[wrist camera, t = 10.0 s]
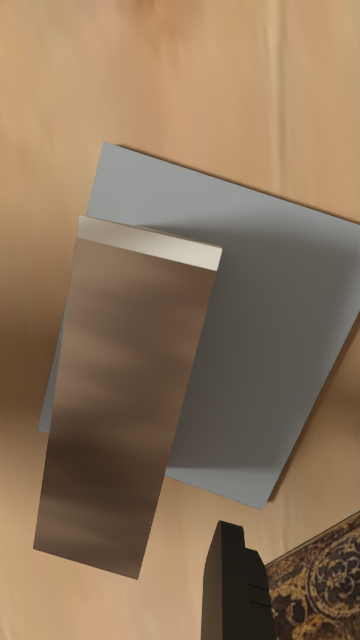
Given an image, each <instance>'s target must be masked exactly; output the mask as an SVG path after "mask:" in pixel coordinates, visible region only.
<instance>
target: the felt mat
mask: <svg viewBox="0 0 360 640" xmlns="http://www.w3.org/2000/svg"><path fill="white" fill-rule="evenodd" d="M86 216H87V217H93V218H98V219H104V220H109V221H115V222H120V223H126V224H131V225H136V226H140V227H145V228H149V229H153V230H157V231H162V232H166V233H170V234H174V235H179V236H183V237H187V238H191V239H195V240H200V241H204V242H208V243H212V244H217V245H221V247H222V253H221V257H220V261H219V265H218V268H217V272H216V276H215V280H214V284H213V288H212V292H211V296H210V300H209V304H208V308H207V311H206V315H205V319H204V323H203V327H202V331H201V335H200V339H199V343H198V347H197V350H196V354H195V358H194V362H193V366H192V370H191V374H190V378H189V382H188V386H187V389H186V393H185V397H184V401H183V405H182V409H181V413H180V417H179V421H178V425H177V429H176V432H175V436H174V440H173V444H172V448H171V452H170V456H169V460H168V464H167V468H166V471H165V475H164V476H167V477H170V478H172V479H175V480H178V481H181V482H184V483H186V484H189V485H192V486H195V487H198V488H200V489H203V490H206V491H209V492H212V493H214V494H217V495H220V496H223V497H225V498H228V499H231V500H234V501H237V502H239V503H242V504H245V505H248V506H251V507H253V508H256V509H259V510H263V508H264V506H265V504H266V502H267V500H268V498H269V496H270V494H271V492H272V490H273V488H274V486H275V484H276V482H277V480H278V477H279V475H280V473H281V471H282V469H283V467H284V465H285V463H286V461H287V459H288V457H289V455H290V453H291V451H292V449H293V447H294V445H295V442H296V440H297V438H298V436H299V434H300V432H301V430H302V428H303V426H304V424H305V422H306V420H307V418H308V416H309V414H310V412H311V410H312V408H313V405H314V403H315V401H316V399H317V397H318V395H319V393H320V391H321V389H322V387H323V385H324V383H325V381H326V379H327V377H328V375H329V373H330V371H331V368H332V366H333V364H334V362H335V360H336V358H337V356H338V354H339V352H340V350H341V348H342V346H343V344H344V342H345V340H346V338H347V336H348V333H349V331H350V329H351V327H352V325H353V323H354V321H355V319H356V317H357V315H358V313H359V311H360V225H358V224H355V223H352V222H349V221H346V220H343V219H340V218H337V217H334V216H331V215H327V214H324V213H321V212H318V211H315V210H312V209H309V208H306V207H303V206H300V205H297V204H294V203H291V202H288V201H285V200H282V199H278V198H275V197H272V196H269V195H266V194H263V193H260V192H257V191H254V190H251V189H248V188H245V187H242V186H239V185H236V184H232V183H229V182H226V181H223V180H220V179H217V178H214V177H211V176H208V175H205V174H202V173H199V172H196V171H193V170H190V169H187V168H183V167H180V166H177V165H174V164H171V163H168V162H165V161H162V160H159V159H156V158H153V157H150V156H147V155H144V154H141V153H137V152H134V151H131V150H128V149H125V148H122V147H119V146H116V145H113V144H110V143H107V142H104V141H103V145H102V149H101V154H100V158H99V163H98V167H97V171H96V176H95V180H94V184H93V189H92V193H91V197H90V202H89V206H88V211H87V215H86ZM68 294H69V293H68ZM67 301H68V298H67ZM66 308H67V302H66V307H65V311H64V315H63V320H62V324H61V328H60V333H59V337H58V341H57V346H56V350H55V355H54V359H53V363H52V368H51V372H50V376H49V381H48V385H47V389H46V394H45V398H44V403H43V407H42V411H41V416H40V420H39V424H38V429H37V430H38V431H41V432H44V433H47V434H49V431H50V424H51V416H52V409H53V402H54V395H55V388H56V380H57V373H58V366H59V359H60V351H61V344H62V337H63V330H64V323H65V315H66Z"/></svg>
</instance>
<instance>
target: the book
mask: <svg viewBox="0 0 360 640" xmlns="http://www.w3.org/2000/svg"><path fill="white" fill-rule="evenodd" d="M265 568H266V571H267V577H268V584H269V594H270V598H271V605H272V609H271V610H272V611H273V618H274V625H275V632H276V639H277V640H360V511H359V512H357V513H356V514H354V515H352V516H350V517H349V518H347V519H345V520H343V521H342V522H340V523H338V524H336V525H335V526H333V527H331V528H330V529H328V530H326V531H324V532H323V533H321V534H319V535H317V536H316V537H314V538H312V539H310V540H309V541H307V542H305V543H303V544H302V545H300V546H298V547H297V548H295V549H293V550H291V551H290V552H288V553H286V554H284V555H283V556H281V557H279V558H277V559H276V560H274V561H272V562H271V563H269V564H267V565H265Z"/></svg>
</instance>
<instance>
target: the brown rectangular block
mask: <svg viewBox="0 0 360 640" xmlns="http://www.w3.org/2000/svg"><path fill="white" fill-rule="evenodd" d="M221 253H222V247H221V245H217V244H212V243H208V242H204V241H200V240H195V239H191V238H187V237H183V236H179V235H174V234H170V233H166V232H162V231H157V230H153V229H149V228H145V227H140V226H136V225H131V224H126V223H120V222H115V221H109V220H104V219H98V218H93V217H87V216H82V215H79V222H78V229H77V236H76V243H75V250H74V258H73V265H72V272H71V279H70V286H69V294H68V301H67V308H66V315H65V323H64V330H63V337H62V344H61V351H60V359H59V366H58V373H57V380H56V388H55V395H54V402H53V409H52V416H51V424H50V431H49V438H48V445H47V452H46V460H45V467H44V474H43V481H42V489H41V496H40V503H39V510H38V517H37V525H36V532H35V539H34V546H33V549H35V550H38V551H42V552H45V553H48V554H52V555H55V556H58V557H62V558H65V559H68V560H72V561H75V562H79V563H82V564H85V565H89V566H92V567H95V568H99V569H102V570H106V571H109V572H112V573H116V574H119V575H122V576H126V577H129V578H132V579H136V580H138V577H139V573H140V569H141V565H142V561H143V557H144V553H145V550H146V546H147V542H148V538H149V534H150V530H151V526H152V522H153V518H154V514H155V510H156V507H157V503H158V499H159V495H160V491H161V487H162V483H163V479H164V475H165V471H166V468H167V464H168V460H169V456H170V452H171V448H172V444H173V440H174V436H175V432H176V429H177V425H178V421H179V417H180V413H181V409H182V405H183V401H184V397H185V393H186V389H187V386H188V382H189V378H190V374H191V370H192V366H193V362H194V358H195V354H196V350H197V347H198V343H199V339H200V335H201V331H202V327H203V323H204V319H205V315H206V311H207V308H208V304H209V300H210V296H211V292H212V288H213V284H214V280H215V276H216V272H217V268H218V265H219V261H220V257H221Z"/></svg>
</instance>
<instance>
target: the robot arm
mask: <svg viewBox="0 0 360 640" xmlns="http://www.w3.org/2000/svg"><path fill="white" fill-rule="evenodd" d="M271 609H272V605H271V598H270V594H269V584H268V577H267V571H266V568H265V566H264V564H263V562H262V560H261V558H260V556H259V554H258V552H257V551H255V550H251V549H248V548H245V540H244V530H243V527H242V526H238V525H235V524H231V523H228V522H224V521H220V520H219V521H218V524H217V527H216V530H215V533H214V536H213V539H212V542H211V545H210V548H209V551H208V555H207V558H206V563H205V569H204V577H203V598H202V621H201V640H277V639H276V632H275V625H274V618H273V611H272V610H271Z"/></svg>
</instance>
